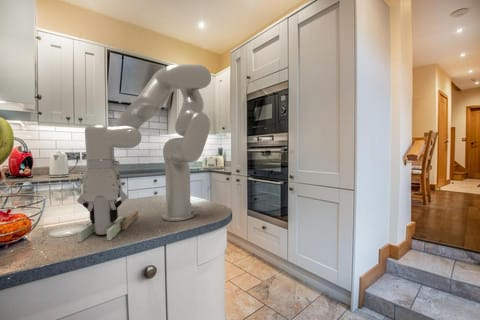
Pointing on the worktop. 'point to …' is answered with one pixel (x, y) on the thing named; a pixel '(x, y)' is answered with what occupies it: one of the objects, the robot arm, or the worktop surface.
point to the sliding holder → (91, 228)
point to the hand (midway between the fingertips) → (104, 221)
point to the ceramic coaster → (65, 231)
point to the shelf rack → (128, 220)
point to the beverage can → (102, 215)
